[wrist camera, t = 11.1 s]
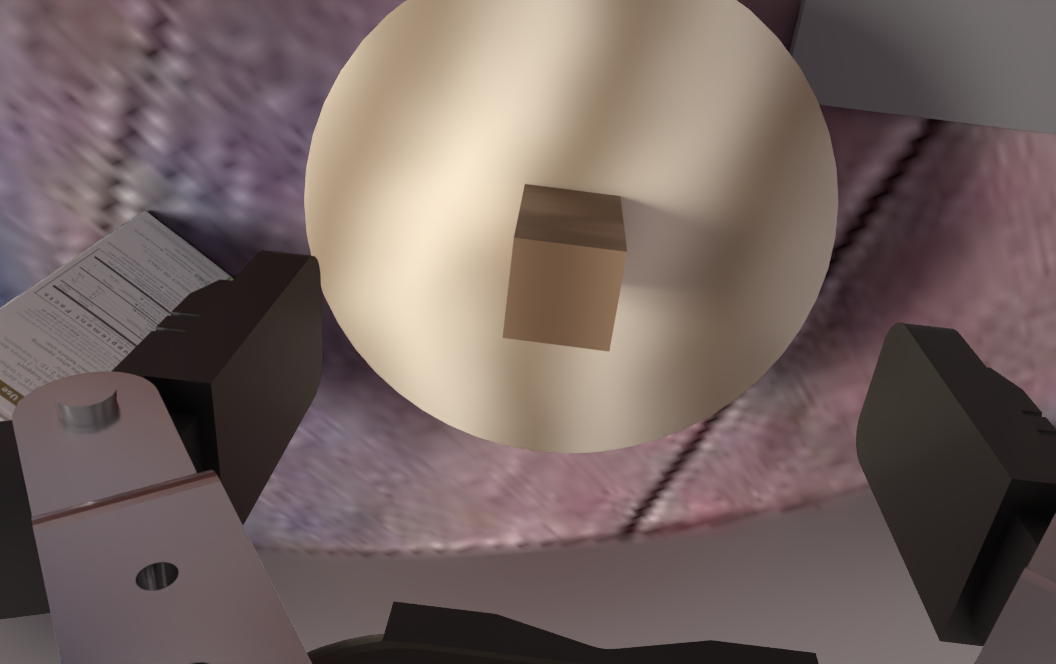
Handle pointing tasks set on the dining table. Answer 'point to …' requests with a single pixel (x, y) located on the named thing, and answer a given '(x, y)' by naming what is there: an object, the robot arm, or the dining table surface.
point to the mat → (933, 59)
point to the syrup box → (97, 307)
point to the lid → (571, 212)
